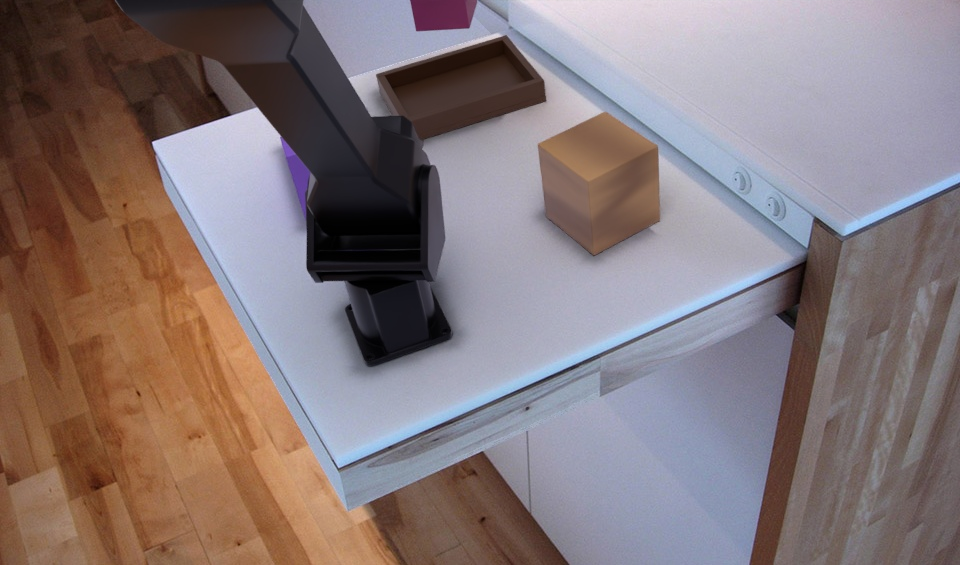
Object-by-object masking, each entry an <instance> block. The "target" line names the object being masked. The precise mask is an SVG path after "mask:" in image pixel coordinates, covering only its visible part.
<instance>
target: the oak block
mask: <svg viewBox="0 0 960 565" xmlns="http://www.w3.org/2000/svg"><path fill="white" fill-rule="evenodd" d="M537 151H538V160H539V169H540V177H541V185H542V193H543V202H544V203H543V204H544V211H545V217H546V218H547V219H548V220H550V221H551V222H552V223H553V224H555V225H556V226H557V227H558V228H560V229H561V230H562V231H563V232H565V233H566V234H567V235H568V236H569V237H570V238H572V239H573V240H574V241H575V242H576V243H578V244H579V245H580V246H581V247H582V248H583V249H585V250H586V251H587V252H589V253H590V254H591V255H592V256H597V255H599V254H600V253H602V252H604V251H606V250H608V249H609V248H611V247H613V246H615V245H617V244H620V243H621V242H623V241H625V240H627V239H628V238H630V237H632V236H634V235H636V234H638V233H640V232H642V231H643V230H646V229H647V228H649V227H651V226H653V225H654V224H657V223H658V222H660V221H661V209H660V208H661V202H660V201H661V200H660V197H661V196H660V168H659V167H660V164H659V162H660V160H659V159H660V157H659V146H658V144H656V143H654V142H653V141H651V140H650V139H648V138H647V137H646V136H644V135H643V134H640V133H639V132H638V131H636V130H635V129H633V128H632V127H630V126H629V125H627V124H626V123H624V122H622V121H621V120H619V119H618V118H616V117H615V116H613V115H612V114H610V113H609V112H607V111H603V112H600V113H599V114H597V115H595V116H592V117H591V118H588V119H587V120H584V121H582V122H580V123H578V124H576V125H573V126H572V127H570V128H567V129H566V130H564V131H562V132H559V133H557V134H555V135H553V136H551V137H549V138H546V139H545V140H543V141H540V142H539V143H537Z"/></svg>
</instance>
